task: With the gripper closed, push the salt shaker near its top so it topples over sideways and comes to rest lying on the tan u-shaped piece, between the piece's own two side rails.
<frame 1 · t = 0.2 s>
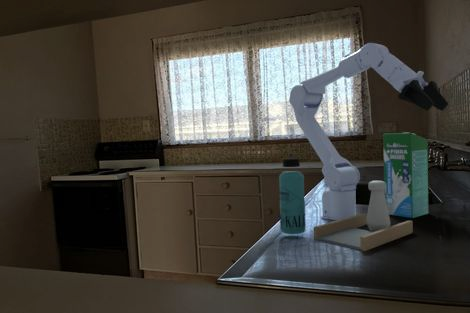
hand: (438, 107, 90), 31 cm above the counter, tool tilted 45°, fingers open, 7 cm apart
milk carton: (406, 214, 116), on the counter
beverage bottle: (293, 237, 95), on the counter
salt shaker: (378, 231, 98), on the counter
tan u-shaped piece: (363, 235, 94), on the counter
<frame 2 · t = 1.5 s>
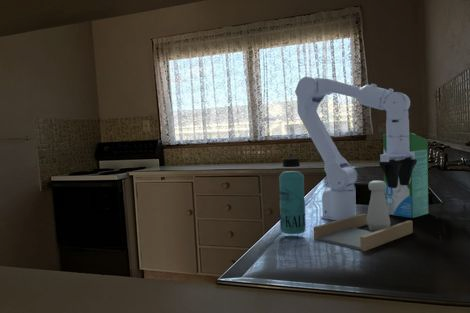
hand: (398, 186, 104), 10 cm above the counter, tool pointing down, fingers open, 6 cm apart
nothing on the counter moved.
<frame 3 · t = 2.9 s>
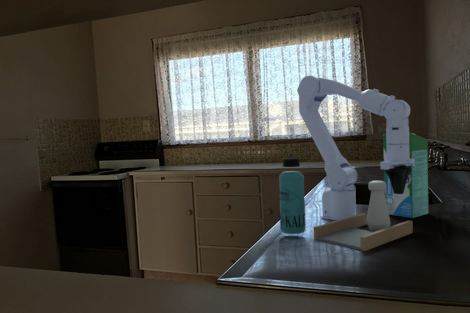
hand: (398, 193, 104), 8 cm above the counter, tool pointing down, fingers closed
nothing on the counter moved.
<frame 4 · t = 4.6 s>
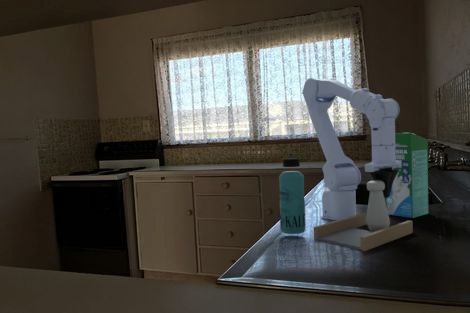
hand: (384, 197, 99), 8 cm above the counter, tool pointing down, fingers closed
nothing on the counter moved.
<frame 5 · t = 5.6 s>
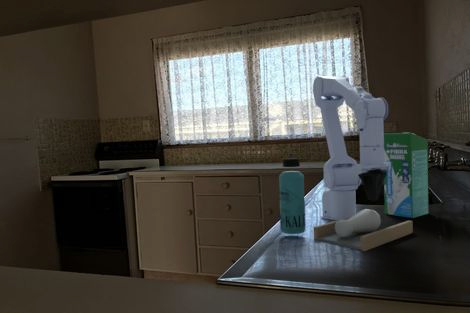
hand: (372, 199, 96), 8 cm above the counter, tool pointing down, fingers closed
salt shaker: (374, 218, 96), point 4 cm above the counter, touching tan u-shaped piece
everything else where it was.
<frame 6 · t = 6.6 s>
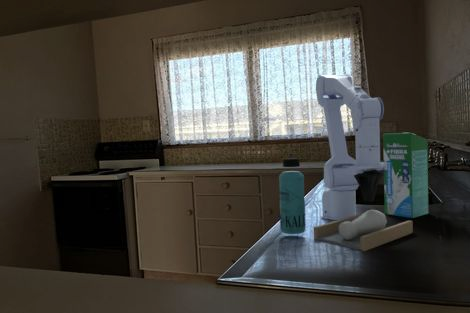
hand: (368, 200, 95), 8 cm above the counter, tool pointing down, fingers closed
salt shaker: (380, 218, 95), point 4 cm above the counter, touching tan u-shaped piece
everything else where it was.
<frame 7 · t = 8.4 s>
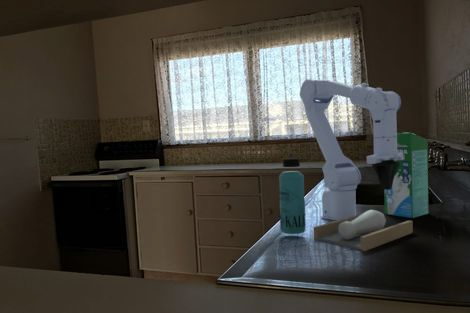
hand: (386, 189, 99), 10 cm above the counter, tool pointing down, fingers closed
nothing on the counter moved.
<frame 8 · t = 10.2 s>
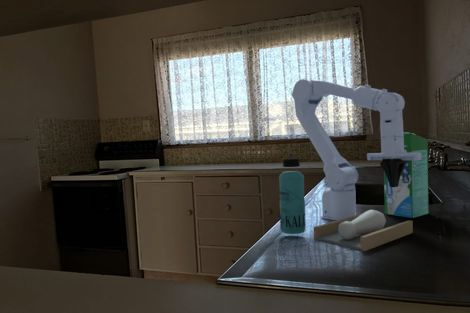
hand: (394, 186, 103), 10 cm above the counter, tool pointing down, fingers closed
nothing on the counter moved.
at the end: salt shaker tilted 95°; salt shaker touching tan u-shaped piece; salt shaker inside the target area (1.7 cm from its centre), point 3.7 cm above the counter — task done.
